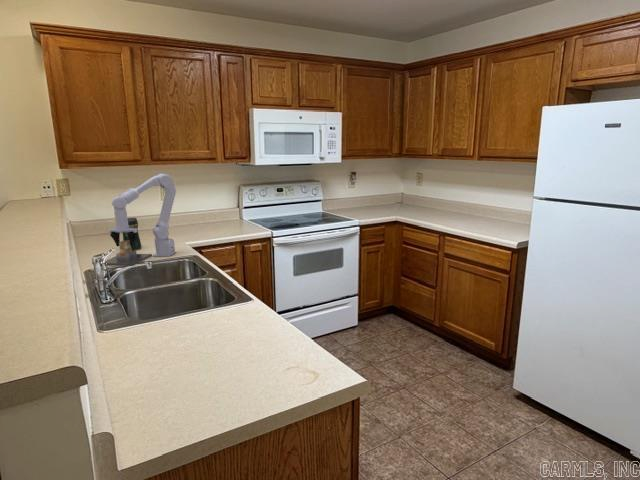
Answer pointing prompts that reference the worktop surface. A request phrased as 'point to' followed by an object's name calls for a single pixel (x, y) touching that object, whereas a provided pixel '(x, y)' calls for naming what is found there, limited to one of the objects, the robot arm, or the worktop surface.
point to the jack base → (128, 259)
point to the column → (125, 247)
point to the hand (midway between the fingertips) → (125, 246)
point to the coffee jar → (137, 244)
